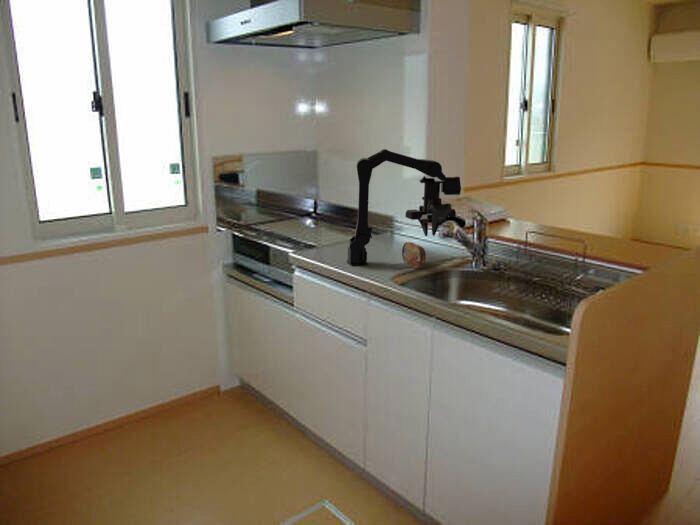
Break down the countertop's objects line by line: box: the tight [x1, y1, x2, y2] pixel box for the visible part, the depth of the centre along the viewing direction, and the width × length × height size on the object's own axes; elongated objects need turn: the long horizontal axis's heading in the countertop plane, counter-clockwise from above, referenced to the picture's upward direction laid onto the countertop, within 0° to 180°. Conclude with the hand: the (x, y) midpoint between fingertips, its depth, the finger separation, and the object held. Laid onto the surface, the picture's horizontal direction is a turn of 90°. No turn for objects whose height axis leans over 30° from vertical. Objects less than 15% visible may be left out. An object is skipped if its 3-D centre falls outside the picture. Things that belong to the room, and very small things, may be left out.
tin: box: [401, 241, 427, 269], centre depth 207 cm, size 15×3×8 cm, turn 21°
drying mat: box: [389, 262, 413, 270], centre depth 206 cm, size 6×6×1 cm
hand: (429, 235), depth 207 cm, fingers open, 3 cm apart
